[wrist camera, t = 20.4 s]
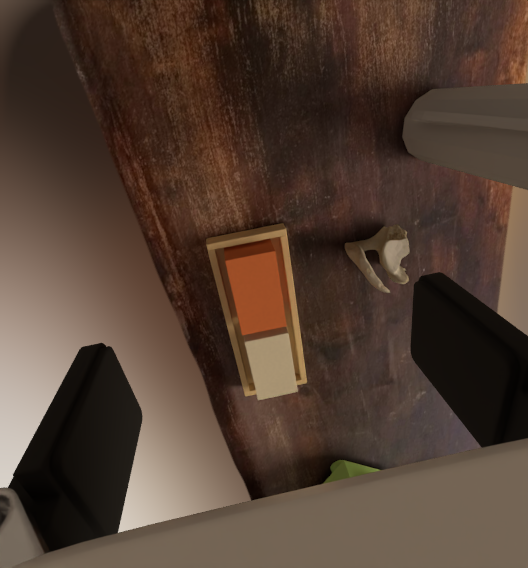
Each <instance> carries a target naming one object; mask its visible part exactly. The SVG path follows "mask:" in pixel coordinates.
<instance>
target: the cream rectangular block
mask: <svg viewBox="0 0 528 568" xmlns="http://www.w3.org/2000/svg"><path fill="white" fill-rule="evenodd" d="M243 336H244V343H245V347H246V351H247V356H248V360H249V364H250V368H251V373H252V377H253V381H254V385H255V390H256V394H257V398H258V400H262V399H267V398H271V397H276V396H280V395H285V394H289V393H294V392H298V390H297V384H296V378H295V371H294V365H293V358H292V352H291V346H290V339H289V333H288V330H287V327H286V326H285V327H281V328H276V329H271V330H266V331H261V332H256V333H252V334H247V335H243Z"/></svg>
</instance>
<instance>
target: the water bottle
mask: <svg viewBox="0 0 528 568" xmlns="http://www.w3.org/2000/svg"><path fill="white" fill-rule="evenodd" d="M402 138H403V140H404V143H405V145H406V148H407V151H408V152H409V153H410V154H412V155H413V156H415V157H416V158H418V159H419V160H422V161H425V162H429V163H432V164H436V165H440V166H443V167H447V168H450V169H454V170H458V171H461V172H465V173H468V174H472V175H476V176H479V177H483V178H487V179H490V180H494V181H497V182H501V183H505V184H508V185H512V186H515V187H519V188H523V189H527V190H528V83H526V84H509V85H493V86H476V87H460V88H443V89H432V90H430V91H429V92H427V93H426V94H424V95H423V96H421V97H420V98H418V99H417V100H415V102H414V104H413V105H412V107H411V109H410V110H409V112H408V113H407V115H406V117H405V120H404V127H403V135H402Z"/></svg>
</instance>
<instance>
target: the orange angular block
mask: <svg viewBox="0 0 528 568" xmlns="http://www.w3.org/2000/svg"><path fill="white" fill-rule="evenodd" d="M224 256H225V264H226V268H227V272H228V277H229V281H230V285H231V290H232V294H233V298H234V303H235V307H236V311H237V316H238V320H239V324H240V329H241V333H242V335H247V334H252V333H256V332H261V331H266V330H271V329H276V328H281V327H285V326H287V324H286V318H285V311H284V305H283V298H282V291H281V285H280V278H279V272H278V265H277V258H276V252H275V249H274V247H273V244H272V242H271V240H270V239H265V240H260V241H255V242H250V243H245V244H240V245H235V246H230V247H225V248H224Z"/></svg>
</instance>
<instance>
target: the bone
mask: <svg viewBox="0 0 528 568" xmlns="http://www.w3.org/2000/svg"><path fill="white" fill-rule="evenodd" d="M406 234H407V232H406V231H405V230H403V229H401V228H400V227H399V225H398V224H396V225H393V226H392V227H388V228H386V227H385V226H384V227H383V228H382V229H381V230H380V231H379V232H378V233H377V234H376V235H375V236H373V237H372V238H370V239H367V240H362V241H356V242H351V243H345V250H346V252H347V254H348V256H349V257H350V258H351V259H352V261H353V262H354V263H355V264H356V265H357V266H358V268H359V269H360V270H361V272H362V273H363V274H364V275H365V276H366V278H367V280H368V281H369V282H370V283H371V284H372V285H373V286H374V287H376V288H377V289H379V290H380V291H382V292H386V293H389V292H390V291H389V290H388V289H387V288H386V287H385V286H384V285H383V284H382V282H381V281H380V279H379V278H378V277H377V276H376V275H375V273H374V271H373V268H372V267H371V266H370V264H369V262H368V261H367V259H366V256H365V253H364V252H365V251H367V250H377V252H378V254H379V258H380V264H381V265H382V266H383V268H385V269H386V272H387V274H388V276H389V277H390V279H391V280H392V281H393V282H397V283H401V284H405V283H407V282H408V281H409V279H408V276H407V275H406V273H405V270H406V269H404V268H402V267H401V266H399V265H400V262H401V259H402V258H403V257H405V256H406V255H408V253H409V247H408V246H409V245H408V244H409V242H408V240H407V237H406Z"/></svg>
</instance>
